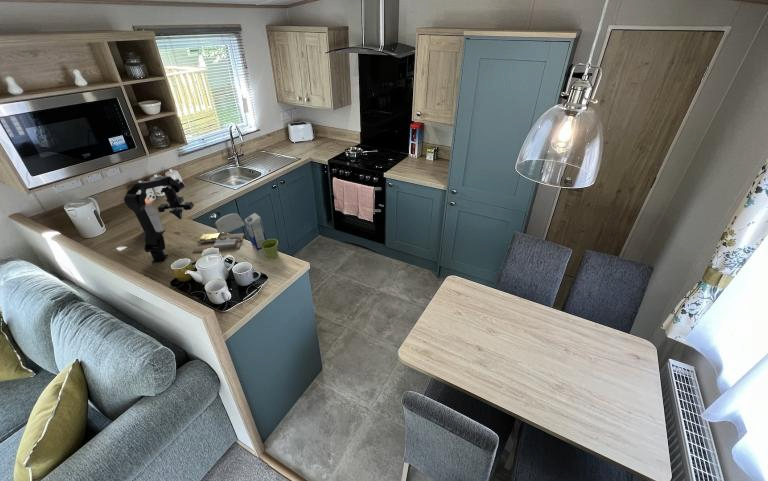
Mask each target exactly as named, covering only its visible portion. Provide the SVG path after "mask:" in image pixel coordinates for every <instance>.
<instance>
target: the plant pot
mask: <svg viewBox="0 0 768 481" xmlns="http://www.w3.org/2000/svg"><path fill="white" fill-rule="evenodd" d="M278 245H279V240H278V239H276V238H269V239H267V238H266V240H265V241H263V242H262V243H261V247H262V250H263V251H264V254H265V257H266V258H267V259H268V260H270V259H272V260H273V259H276V258H277V257H278V255H279V252H278Z"/></svg>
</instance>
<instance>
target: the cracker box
mask: <svg viewBox="0 0 768 481" xmlns="http://www.w3.org/2000/svg"><path fill="white" fill-rule="evenodd" d="M145 202H146V205H145V210H146V212H147V214H148V216H149V218H150V220H151V222H152V224H153V227H154V229H155V231H156V232H161V233H162V232H164V231H166V228H165V226H164V225H163V222H162V220H161V218H160V215H159V214H158V213H159V212H158V210H157V208H156V207H155V205H154V202H153V201H152V200H150V199H148V198H147V197H146V199H145Z"/></svg>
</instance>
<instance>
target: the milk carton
mask: <svg viewBox="0 0 768 481" xmlns="http://www.w3.org/2000/svg"><path fill="white" fill-rule="evenodd" d="M244 224H245V226H246V229H247V233H248V236H249V240H250V243H251V246H252V247H253V248H254V249H255V250H257V251H259V250H263V248H262V247H261V243H262V242H263V241H265V240H267V238H266V233H265V229H264V226H263V222H262V218H261V216H259V214H257V213H255V212H253V213H252V214H250V215H249V216H247V217H246V218H245V219H244Z"/></svg>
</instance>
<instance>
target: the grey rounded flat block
mask: <svg viewBox="0 0 768 481" xmlns="http://www.w3.org/2000/svg"><path fill="white" fill-rule="evenodd" d="M214 224H215V228H216V231H217V233H220V235H226V234H227V233H230V232H232V231H234V230H237V229H239V228H241V227H243V226H246V223H245V221H243V219H242V217H241V216H240V215H239V214H238V213H229V214H228V213H227V214H225V215H223V216H221V217H220V218H218V219H217V220H216V221H215V222H214ZM222 232H224V233H222Z"/></svg>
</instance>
